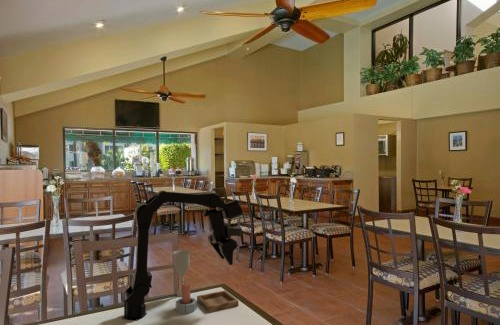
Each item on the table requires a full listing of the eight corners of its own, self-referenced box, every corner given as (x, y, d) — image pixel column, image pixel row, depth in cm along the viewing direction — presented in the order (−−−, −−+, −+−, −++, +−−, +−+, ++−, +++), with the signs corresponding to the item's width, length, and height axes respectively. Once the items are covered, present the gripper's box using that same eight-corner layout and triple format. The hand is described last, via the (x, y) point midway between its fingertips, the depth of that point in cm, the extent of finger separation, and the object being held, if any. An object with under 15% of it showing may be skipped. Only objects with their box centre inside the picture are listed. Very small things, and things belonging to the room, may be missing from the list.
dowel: (180, 310, 123) (180, 285, 123) (184, 306, 126) (184, 282, 126) (188, 311, 122) (188, 286, 122) (191, 307, 125) (191, 283, 125)
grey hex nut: (172, 313, 122) (172, 304, 122) (182, 305, 129) (182, 296, 129) (190, 316, 120) (190, 306, 120) (199, 307, 127) (199, 298, 127)
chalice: (193, 293, 141) (193, 250, 141) (188, 299, 134) (188, 254, 134) (176, 292, 142) (176, 249, 142) (170, 299, 135) (170, 254, 135)
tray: (208, 314, 121) (208, 307, 121) (197, 302, 132) (197, 295, 132) (238, 307, 127) (238, 300, 127) (225, 296, 138) (225, 290, 138)
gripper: (245, 220, 126) (255, 260, 127) (228, 214, 143) (237, 249, 145) (217, 230, 122) (228, 271, 123) (203, 222, 139) (212, 258, 140)
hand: (227, 261), depth 133 cm, fingers open, 9 cm apart
